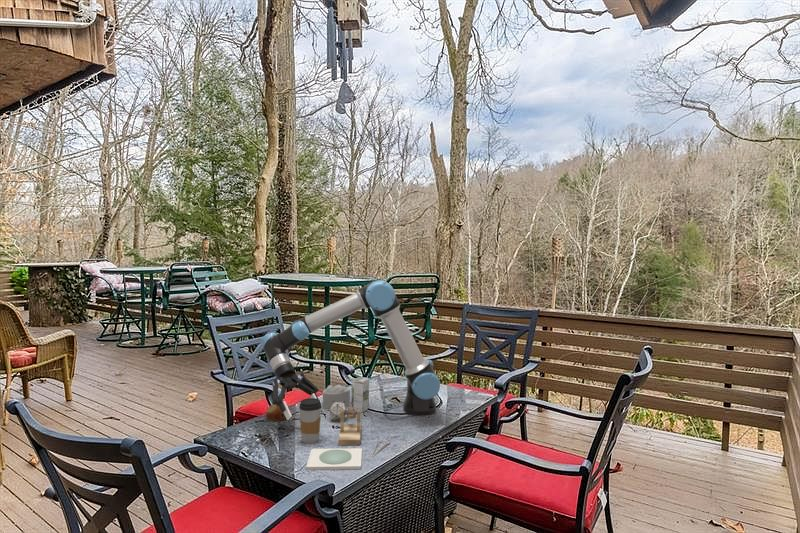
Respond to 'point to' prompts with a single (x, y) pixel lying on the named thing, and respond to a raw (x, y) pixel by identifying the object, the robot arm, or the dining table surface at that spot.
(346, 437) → the toy catapult
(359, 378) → the syrup box
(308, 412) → the coffee cup
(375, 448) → the tweezers
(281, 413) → the brown rounded lump
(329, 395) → the lumpy-topped squat cylinder
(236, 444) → the dining table surface
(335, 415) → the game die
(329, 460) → the board
